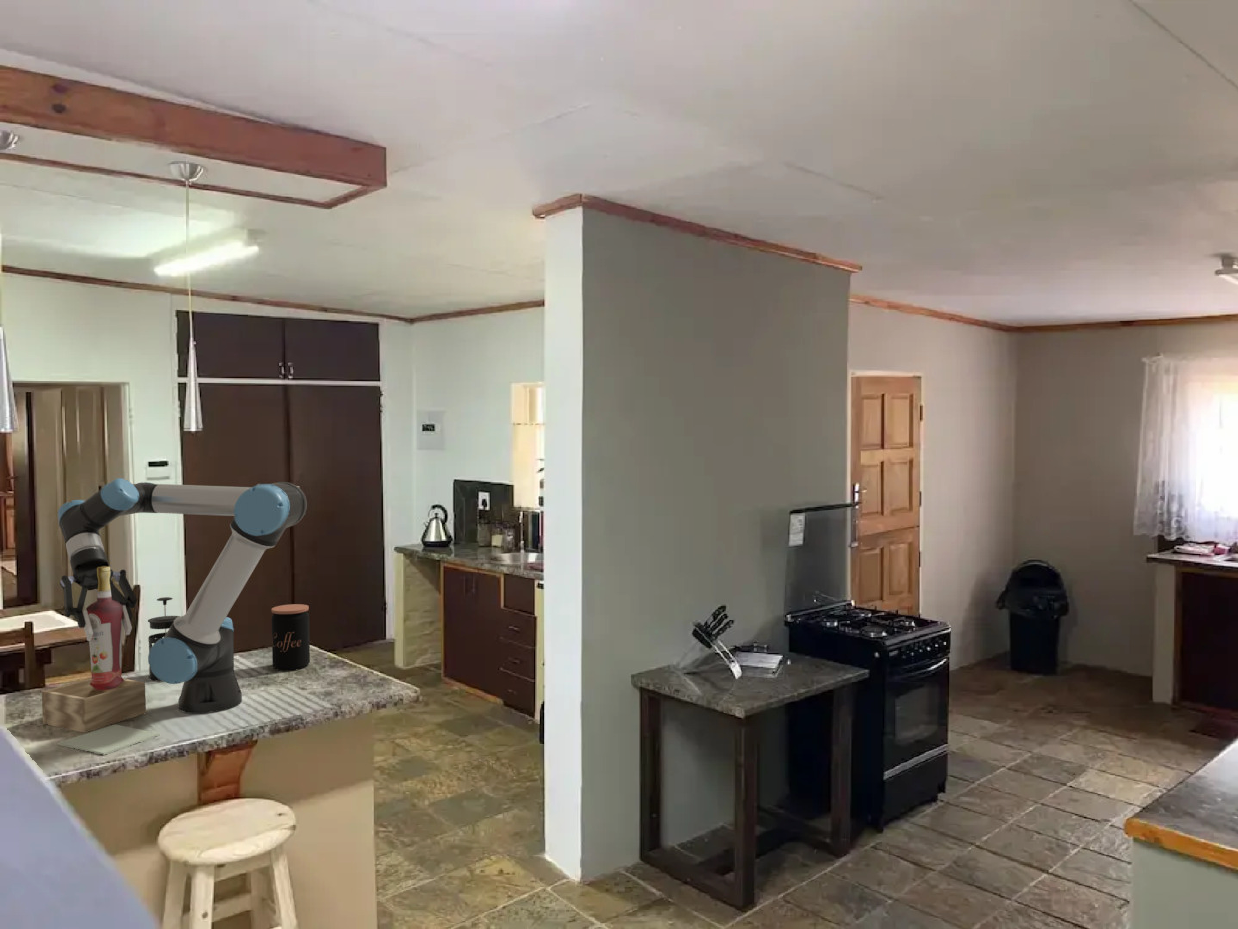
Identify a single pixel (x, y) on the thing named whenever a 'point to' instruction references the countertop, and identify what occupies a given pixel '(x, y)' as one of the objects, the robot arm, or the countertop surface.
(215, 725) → the countertop surface
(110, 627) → the liquor
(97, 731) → the mat
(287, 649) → the coffee jar
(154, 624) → the french press
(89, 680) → the crate
